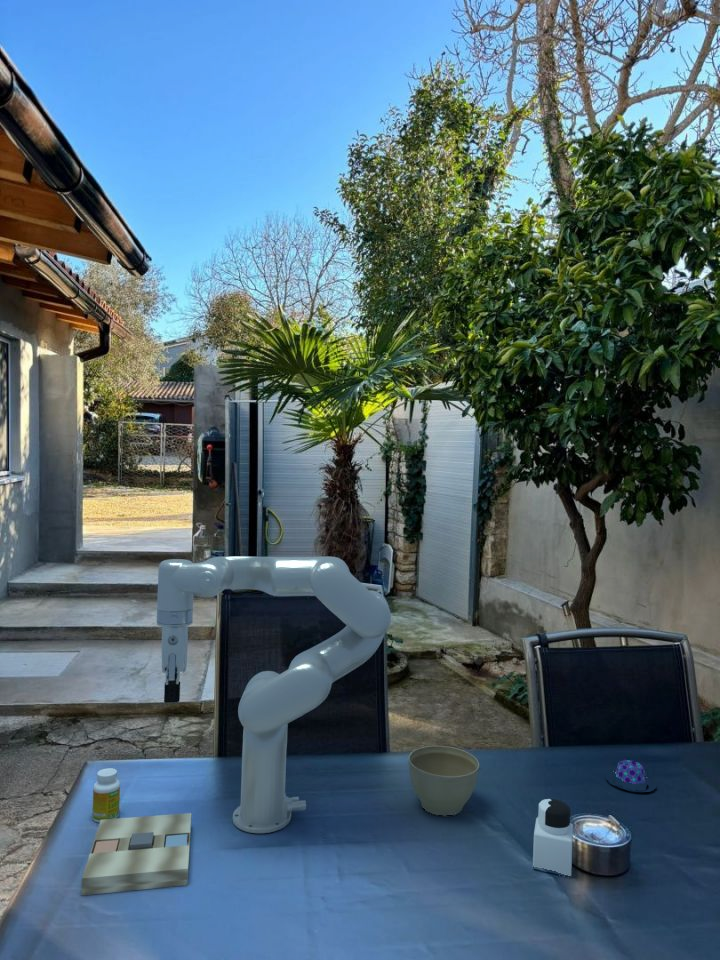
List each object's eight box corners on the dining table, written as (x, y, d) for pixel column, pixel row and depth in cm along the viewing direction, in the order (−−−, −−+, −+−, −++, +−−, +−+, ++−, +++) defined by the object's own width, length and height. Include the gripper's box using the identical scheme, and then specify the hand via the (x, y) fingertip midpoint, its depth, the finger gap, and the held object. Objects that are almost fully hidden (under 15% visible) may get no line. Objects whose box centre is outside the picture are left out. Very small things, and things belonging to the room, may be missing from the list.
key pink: (118, 847, 127) (118, 839, 127) (115, 859, 123) (115, 851, 123) (96, 849, 126) (96, 841, 126) (92, 861, 122) (93, 853, 122)
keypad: (190, 827, 138) (191, 812, 138) (187, 885, 119) (188, 868, 119) (100, 834, 134) (100, 819, 134) (81, 895, 115) (81, 878, 115)
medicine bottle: (571, 858, 131) (573, 798, 131) (571, 878, 125) (573, 815, 125) (535, 850, 134) (537, 792, 134) (532, 870, 127) (534, 808, 127)
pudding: (660, 799, 159) (661, 777, 159) (608, 791, 162) (608, 770, 162) (651, 778, 170) (652, 757, 170) (602, 771, 173) (603, 751, 173)
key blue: (187, 841, 130) (187, 834, 130) (186, 853, 126) (186, 845, 126) (166, 843, 129) (166, 835, 129) (164, 855, 125) (165, 847, 125)
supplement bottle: (109, 825, 138) (111, 779, 138) (86, 821, 139) (88, 775, 139) (123, 812, 143) (125, 768, 143) (101, 809, 144) (103, 765, 144)
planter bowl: (397, 815, 146) (399, 766, 146) (418, 785, 161) (420, 740, 161) (468, 832, 140) (470, 781, 140) (483, 799, 155) (485, 753, 155)
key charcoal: (153, 839, 129) (153, 832, 129) (151, 851, 125) (151, 843, 125) (131, 841, 128) (132, 833, 128) (129, 853, 124) (129, 845, 124)
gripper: (191, 624, 135) (188, 712, 135) (193, 609, 150) (190, 689, 150) (153, 624, 134) (150, 714, 134) (159, 610, 148) (156, 691, 148)
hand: (171, 701), depth 142 cm, fingers closed
